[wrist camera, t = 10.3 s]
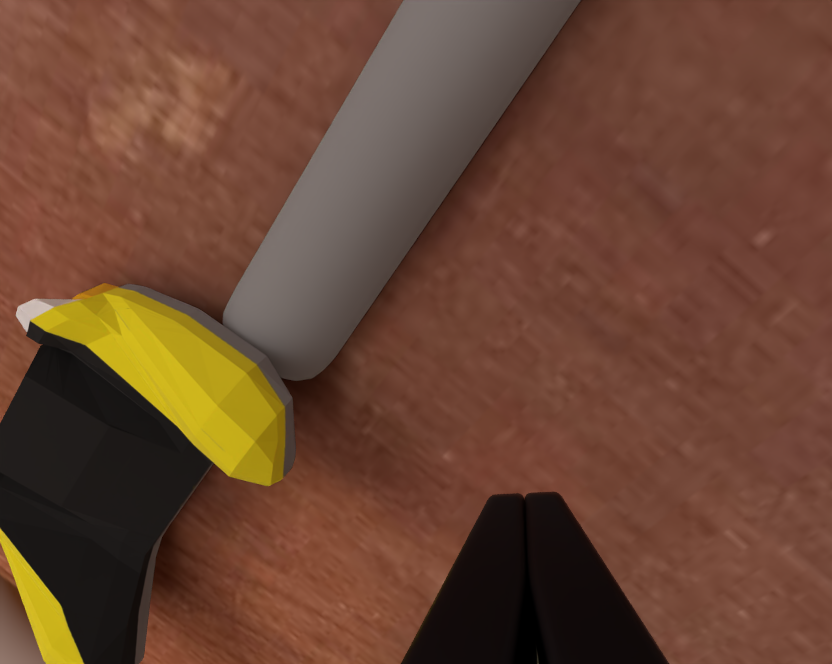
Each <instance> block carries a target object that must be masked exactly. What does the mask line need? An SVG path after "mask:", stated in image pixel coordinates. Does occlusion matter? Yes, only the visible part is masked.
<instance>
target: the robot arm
mask: <svg viewBox="0 0 832 664" xmlns="http://www.w3.org/2000/svg"><path fill="white" fill-rule="evenodd" d="M537 655H538V656H537ZM401 664H669V663H668V661H667V660H666V658H665V656H664V655H663V653H662V652H661V650H660V649H659V647H658V646H657V644H656V642H655V641H654V639H653V638H652V636H651V635H650V633H649V632H648V630H647V628H646V627H645V625H644V624H643V622H642V621H641V619H640V618H639V616H638V614H637V613H636V611H635V610H634V608H633V607H632V605H631V604H630V602H629V600H628V599H627V597H626V596H625V594H624V593H623V591H622V590H621V588H620V586H619V585H618V583H617V582H616V580H615V579H614V577H613V576H612V574H611V572H610V571H609V569H608V568H607V566H606V565H605V563H604V562H603V560H602V558H601V557H600V555H599V554H598V552H597V551H596V549H595V548H594V546H593V544H592V543H591V541H590V540H589V538H588V537H587V535H586V534H585V532H584V530H583V529H582V527H581V526H580V524H579V523H578V521H577V520H576V518H575V516H574V515H573V513H572V512H571V510H570V509H569V507H568V506H567V504H566V502H565V501H564V499H563V498H562V496H561V495H560V494H559V493H557V492H538V493H528V494H527V495H526V497H525V500H524V497H523V496H522V495H521V494H518V493H517V494H497V495H492V496H491V497H490V498H489V499H488V500H487V502H486V504H485V506H484V508H483V510H482V512H481V513H480V515H479V517H478V519H477V521H476V523H475V525H474V527H473V529H472V530H471V532H470V534H469V536H468V538H467V540H466V542H465V544H464V546H463V547H462V549H461V551H460V553H459V555H458V557H457V559H456V561H455V563H454V564H453V566H452V568H451V570H450V572H449V574H448V576H447V578H446V580H445V581H444V583H443V585H442V587H441V589H440V591H439V593H438V595H437V597H436V598H435V600H434V602H433V604H432V606H431V608H430V610H429V612H428V614H427V616H426V617H425V619H424V621H423V623H422V625H421V627H420V629H419V631H418V633H417V634H416V636H415V638H414V640H413V642H412V644H411V646H410V648H409V650H408V651H407V653H406V655H405V657H404V659H403V661H402V663H401Z"/></svg>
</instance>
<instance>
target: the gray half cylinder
mask: <svg viewBox="0 0 832 664" xmlns="http://www.w3.org/2000/svg"><path fill="white" fill-rule="evenodd" d="M580 1H581V0H403V2H402V4H401V5H400V7H399V9H398V11H397V12H396V14H395V16H394V17H393V19H392V21H391V23H390V24H389V26H388V28H387V29H386V31H385V33H384V35H383V36H382V38H381V40H380V41H379V43H378V45H377V46H376V48H375V50H374V52H373V53H372V55H371V57H370V58H369V60H368V62H367V64H366V65H365V67H364V69H363V70H362V72H361V74H360V76H359V77H358V79H357V81H356V82H355V84H354V86H353V88H352V89H351V91H350V93H349V94H348V96H347V98H346V100H345V101H344V103H343V105H342V106H341V108H340V110H339V112H338V113H337V115H336V117H335V118H334V120H333V122H332V124H331V125H330V127H329V129H328V130H327V132H326V134H325V136H324V137H323V139H322V141H321V142H320V144H319V146H318V148H317V149H316V151H315V153H314V154H313V156H312V158H311V160H310V161H309V163H308V165H307V166H306V168H305V170H304V172H303V173H302V175H301V177H300V178H299V180H298V182H297V184H296V185H295V187H294V189H293V190H292V192H291V194H290V196H289V197H288V199H287V201H286V202H285V204H284V206H283V208H282V209H281V211H280V213H279V214H278V216H277V218H276V220H275V221H274V223H273V225H272V226H271V228H270V230H269V232H268V233H267V235H266V237H265V238H264V240H263V242H262V244H261V245H260V247H259V249H258V250H257V252H256V254H255V256H254V257H253V259H252V261H251V262H250V264H249V266H248V268H247V269H246V271H245V273H244V274H243V276H242V278H241V280H240V281H239V283H238V285H237V287H236V288H235V290H234V292H233V294H232V296H231V298H230V300H229V302H228V304H227V306H226V308H225V311H224V313H223V326H224V327H226V328H227V329H229V330H230V331H232V332H233V333H235V334H236V335H237V336H239V337H240V338H242V339H243V340H245V341H246V342H248V343H249V344H250V345H252V346H253V347H255V348H256V349H258V350H259V351H261V352H262V353H263V354H265V355H266V356H267V357H268V358H269V360H270V362H271V363H272V365H273V367H274V368H275V370H276V372H277V373H278V375H279V376H280V378H283V379H288V380H293V381H300V380H306V379H312V378H313V377H315V376H316V375H318V374H319V373H320V372H322V371H323V370H324V369H325V368H326V367H327V366H328V365H329V364H330V363H331V362H332V361H333V359H334V358H335V357H336V356H337V354H338V353H339V351H340V350H341V348H342V347H343V345H344V344H345V343H346V341H347V340H348V338H349V337H350V335H351V334H352V332H353V331H354V329H355V328H356V327H357V325H358V324H359V322H360V321H361V319H362V318H363V316H364V315H365V313H366V312H367V311H368V309H369V308H370V306H371V305H372V303H373V302H374V300H375V299H376V297H377V296H378V295H379V293H380V292H381V290H382V289H383V287H384V286H385V284H386V283H387V281H388V280H389V279H390V277H391V276H392V274H393V273H394V271H395V270H396V268H397V267H398V265H399V264H400V263H401V261H402V260H403V258H404V257H405V255H406V254H407V252H408V251H409V249H410V248H411V247H412V245H413V244H414V242H415V241H416V239H417V238H418V236H419V235H420V233H421V232H422V231H423V229H424V228H425V226H426V225H427V223H428V222H429V220H430V219H431V217H432V216H433V215H434V213H435V212H436V210H437V209H438V207H439V206H440V204H441V203H442V201H443V200H444V199H445V197H446V196H447V194H448V193H449V191H450V190H451V188H452V187H453V185H454V184H455V183H456V181H457V180H458V178H459V177H460V175H461V174H462V172H463V171H464V169H465V168H466V167H467V165H468V164H469V162H470V161H471V159H472V158H473V156H474V155H475V153H476V152H477V151H478V149H479V148H480V146H481V145H482V143H483V142H484V140H485V139H486V137H487V136H488V135H489V133H490V132H491V130H492V129H493V127H494V126H495V124H496V123H497V121H498V120H499V119H500V117H501V116H502V114H503V113H504V111H505V110H506V108H507V107H508V105H509V104H510V103H511V101H512V100H513V98H514V97H515V95H516V94H517V92H518V91H519V89H520V88H521V87H522V85H523V84H524V82H525V81H526V79H527V78H528V76H529V75H530V73H531V72H532V71H533V69H534V68H535V66H536V65H537V63H538V62H539V60H540V59H541V57H542V56H543V55H544V53H545V52H546V50H547V49H548V47H549V46H550V44H551V43H552V41H553V40H554V38H555V37H556V36H557V34H558V33H559V31H560V30H561V28H562V27H563V25H564V24H565V22H566V21H567V20H568V18H569V17H570V15H571V14H572V12H573V11H574V9H575V8H576V6H577V5H578V4H579V2H580Z"/></svg>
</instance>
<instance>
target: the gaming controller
mask: <svg viewBox="0 0 832 664" xmlns="http://www.w3.org/2000/svg"><path fill="white" fill-rule="evenodd" d="M16 317H17V318H18V320H19V321H20V323H21V324H22V326H23V327H24V329H25V330H26V332H27V335H26V336H27V337H29V338H31V339H32V340H34V341H35V342H37V343H39V344H43V345H41V346H40V348H39V350H38V352H37V354H36V356H35V358H34V360H33V362H32V363H31V365H30V367H29V369H28V371H27V373H26V375H25V377H24V379H23V381H22V383H21V385H20V386H19V388H18V390H17V392H16V394H15V396H14V398H13V400H12V402H11V404H10V406H9V408H8V410H7V412H6V413H5V415H4V417H3V419H2V421H1V423H0V543H1V545H2V547H3V550H4V552H5V555H6V557H7V559H8V562H9V565H10V567H11V570H12V573H13V576H14V579H15V581H16V584H17V587H18V590H19V592H20V595H21V598H22V601H23V603H24V607H25V609H26V612H27V615H28V618H29V621H30V623H31V626H32V629H33V632H34V635H35V637H36V640H37V643H38V646H39V649H40V652H41V654H42V657H43V660H44V661H45V662H46V663H47V664H139V663H140V662H141V661H142V659H143V657H144V651H145V642H146V634H147V625H148V616H149V608H150V599H151V591H152V584H153V576H154V569H155V562H156V555H157V552H158V549H159V545H160V542H161V539H162V536H163V535H164V533H165V532H166V530H167V529H168V527H169V526H170V524H171V523H172V521H173V520H174V518H175V517H176V516H177V514H178V513H179V511H180V510H181V509H182V507H183V506H184V504H185V503H186V502H187V500H188V499H189V497H190V496H191V495H192V493H193V492H194V490H195V489H196V488H197V486H198V485H199V483H200V482H201V481H202V479H203V478H204V476H205V475H206V474H207V472H208V471H209V469H210V468H211V467H212V465H213V464H215V465H217V466H218V467H219V468H220V469H221V470H222V471H223V472H224V473H225V474H227V475H228V476H229V477H232V478H236V479H240V480H244V481H248V482H252V483H256V484H260V485H264V486H270V485H272V484H274V483H276V482H278V481H281V480H282V479H283V478H284V476H285V475H286V474H287V473H288V472H289V471H290V470H291V469H292V466H293V463H294V460H295V454H296V442H295V427H294V411H293V398H292V396H291V395H290V393H289V391H288V390H287V388H286V386H285V385H284V383H283V381H282V380H281V378H280V376H279V375H278V373H277V372H276V370H275V368H274V367H273V365H272V363H271V362H270V360H269V358H268V357H267V356H266V355H265V354H263V353H262V352H261V351H259V350H258V349H256V348H255V347H253V346H252V345H250V344H249V343H248V342H246V341H245V340H243V339H242V338H240V337H239V336H237V335H236V334H235V333H233V332H232V331H230V330H229V329H227V328H226V327H224V326H223V325H222V324H220V323H219V322H217V321H216V320H214V319H213V318H211V317H210V316H209V315H207V314H206V313H204V312H203V311H201V310H200V309H198V308H196V307H193V306H191V305H189V304H186V303H184V302H181V301H179V300H176V299H174V298H172V297H169V296H167V295H164V294H162V293H160V292H157V291H155V290H152V289H150V288H147V287H145V286H139V285H133V284H126V285H123V286H121V287H117V286H114V285H110V284H106V283H103V284H101V285H99V286H96V287H94V288H91V289H89V290H87V291H84V292H82V293H80V294H78V295H77V296H75V297H74V298H72V299H71V300H70V299H34V300H31V301H29V302H27V303H25V304H23V305H20V306H18V309H17V313H16Z"/></svg>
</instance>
